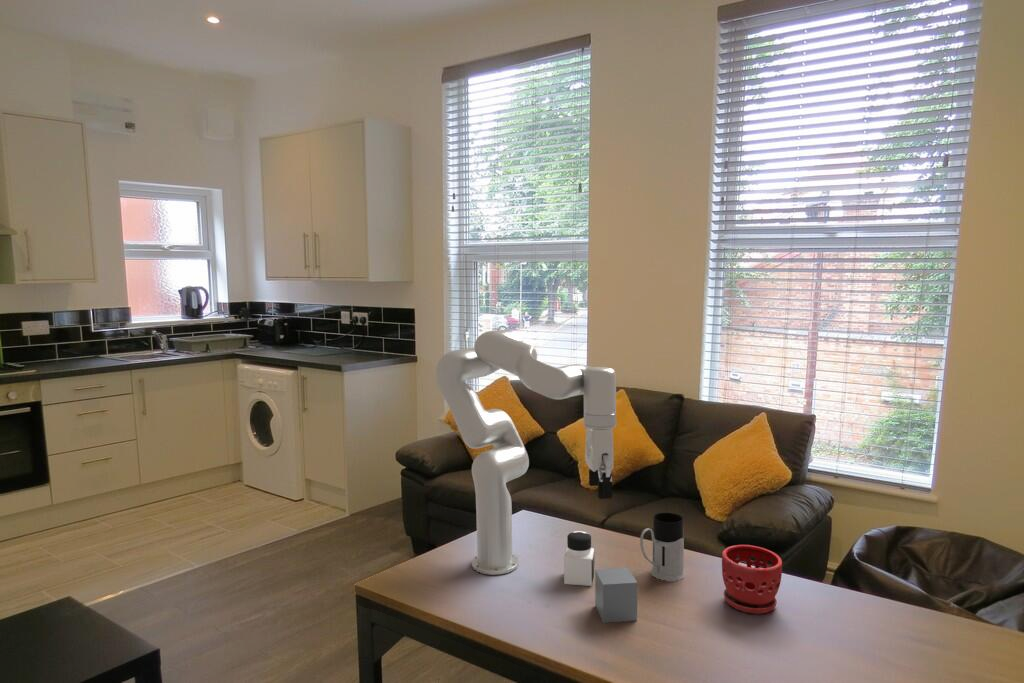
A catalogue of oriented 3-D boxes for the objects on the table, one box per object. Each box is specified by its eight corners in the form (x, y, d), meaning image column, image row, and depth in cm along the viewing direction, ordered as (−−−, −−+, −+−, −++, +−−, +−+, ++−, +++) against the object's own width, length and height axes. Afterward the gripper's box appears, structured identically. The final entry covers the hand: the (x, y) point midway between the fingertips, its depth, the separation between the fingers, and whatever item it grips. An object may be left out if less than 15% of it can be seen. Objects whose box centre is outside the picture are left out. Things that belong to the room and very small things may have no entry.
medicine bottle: (592, 586, 159) (592, 540, 158) (564, 584, 161) (563, 538, 160) (594, 574, 166) (594, 529, 165) (567, 572, 168) (566, 527, 167)
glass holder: (692, 575, 165) (692, 518, 164) (654, 590, 157) (654, 531, 156) (666, 563, 172) (666, 509, 171) (628, 577, 164) (628, 520, 163)
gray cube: (595, 605, 150) (595, 569, 149) (627, 603, 150) (627, 567, 150) (603, 622, 142) (603, 584, 141) (637, 620, 143) (637, 582, 142)
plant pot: (711, 606, 148) (712, 556, 148) (735, 586, 158) (736, 539, 157) (768, 625, 140) (769, 572, 139) (789, 603, 149) (790, 554, 148)
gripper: (577, 413, 158) (577, 481, 159) (592, 428, 140) (592, 504, 142) (606, 412, 158) (607, 480, 160) (625, 427, 141) (625, 503, 142)
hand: (600, 491), depth 151 cm, fingers open, 9 cm apart
